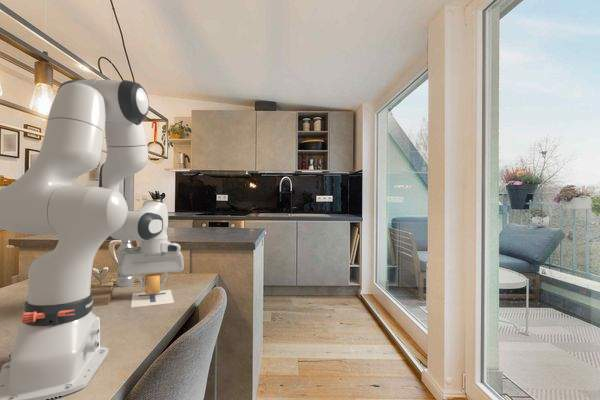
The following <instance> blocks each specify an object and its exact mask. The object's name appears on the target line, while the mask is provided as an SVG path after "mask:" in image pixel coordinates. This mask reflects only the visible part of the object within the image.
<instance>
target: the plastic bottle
mask: <svg viewBox="0 0 600 400" xmlns="http://www.w3.org/2000/svg"><path fill="white" fill-rule="evenodd" d="M120 242H121V244H120V245H119V246H118V248H117V250H116V257H117V264H118V265H117V267H118V268H117V275H116V280H115V285H116V287H118V288H128V287H131V286H134V285H135V279H136V278H135V275H122V274H121V264H122V260H121V259H120V252H121V251H122V250H123V249H125V248H127V247H130V248H132V247H134V245H133V244H132V243H133V240H120ZM123 251H125V250H123Z"/></svg>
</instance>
